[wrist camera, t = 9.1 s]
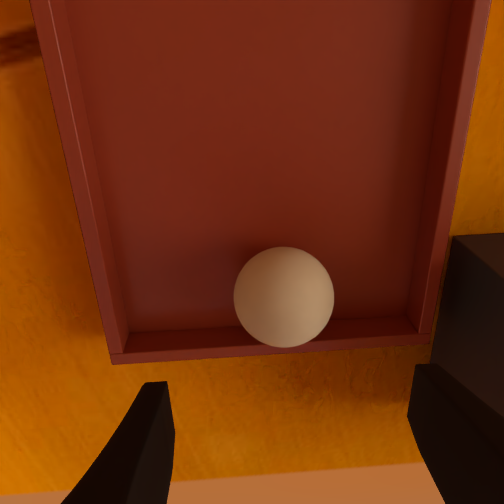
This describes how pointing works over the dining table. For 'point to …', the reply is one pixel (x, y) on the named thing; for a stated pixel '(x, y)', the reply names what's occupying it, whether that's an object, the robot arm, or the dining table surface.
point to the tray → (261, 158)
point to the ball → (283, 297)
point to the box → (474, 317)
